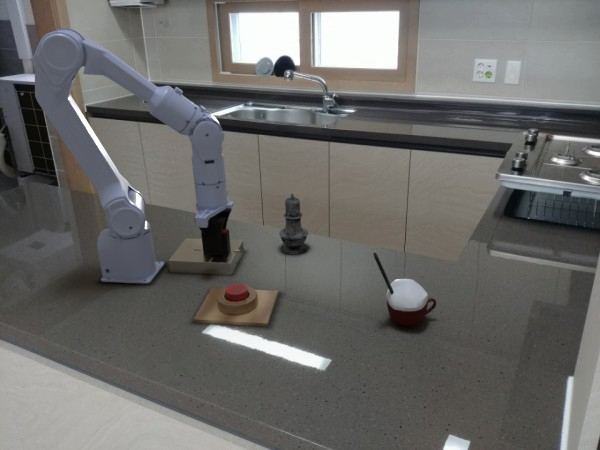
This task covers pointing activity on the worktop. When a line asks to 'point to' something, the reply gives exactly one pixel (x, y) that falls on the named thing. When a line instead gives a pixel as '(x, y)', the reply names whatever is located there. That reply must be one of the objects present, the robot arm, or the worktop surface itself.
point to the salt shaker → (293, 228)
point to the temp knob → (224, 245)
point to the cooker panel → (205, 258)
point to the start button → (236, 292)
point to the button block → (237, 308)
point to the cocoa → (406, 300)
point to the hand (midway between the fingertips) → (216, 247)
